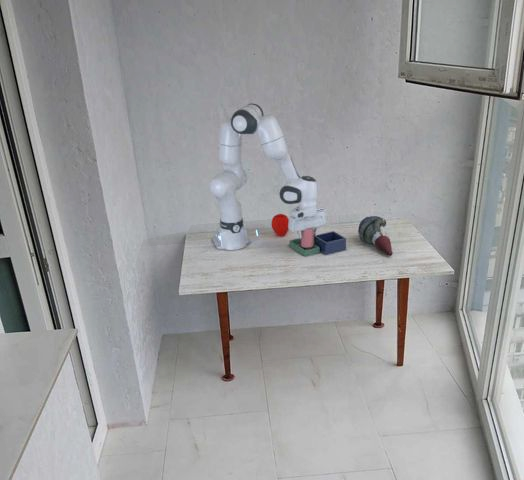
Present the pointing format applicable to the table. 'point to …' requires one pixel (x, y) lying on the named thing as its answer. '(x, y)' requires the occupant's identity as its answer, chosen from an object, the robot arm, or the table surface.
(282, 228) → the red rounded egg shape
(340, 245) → the navy blue open box
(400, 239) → the table surface
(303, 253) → the rack
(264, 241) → the table surface
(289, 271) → the table surface
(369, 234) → the figurine
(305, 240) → the cup
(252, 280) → the table surface
